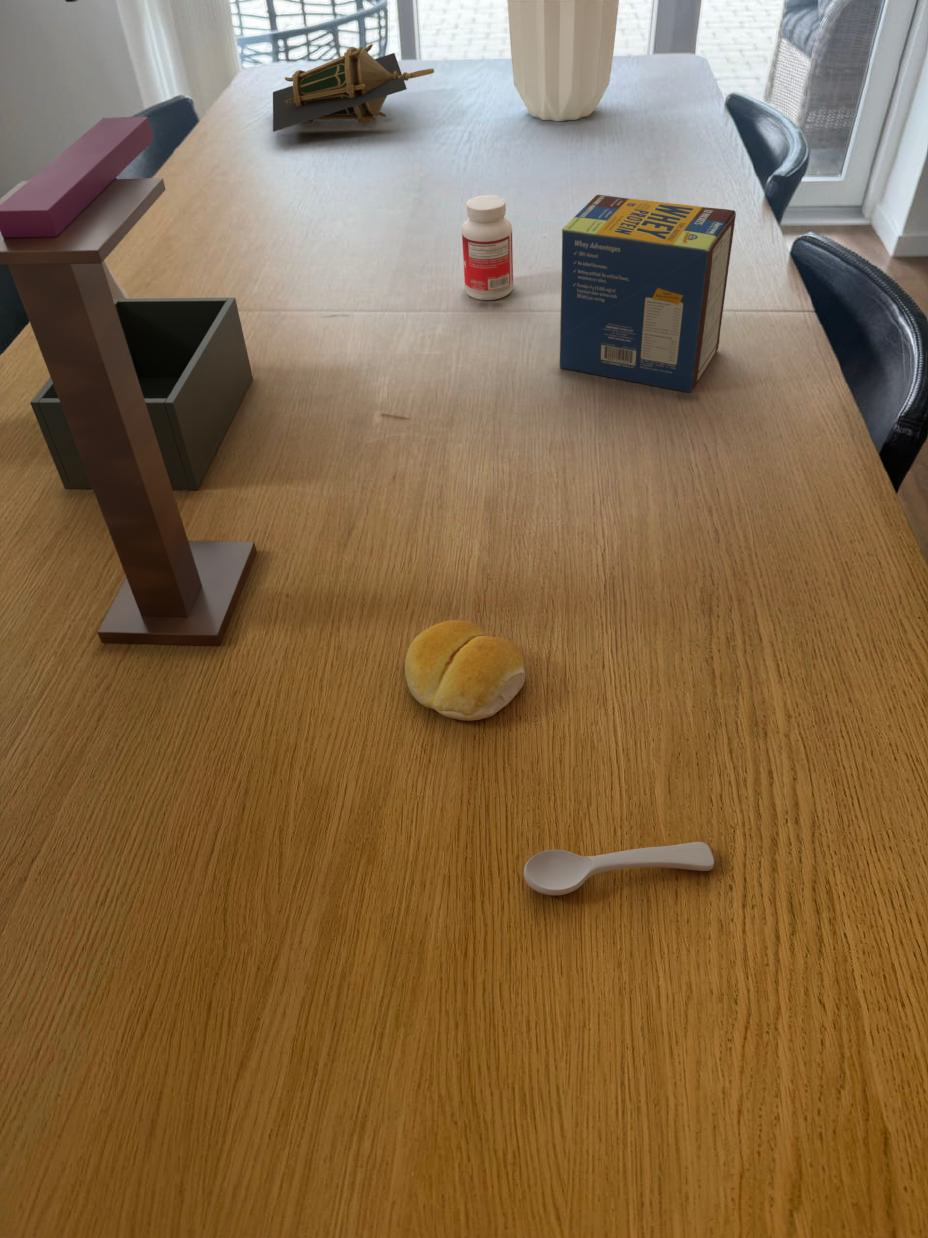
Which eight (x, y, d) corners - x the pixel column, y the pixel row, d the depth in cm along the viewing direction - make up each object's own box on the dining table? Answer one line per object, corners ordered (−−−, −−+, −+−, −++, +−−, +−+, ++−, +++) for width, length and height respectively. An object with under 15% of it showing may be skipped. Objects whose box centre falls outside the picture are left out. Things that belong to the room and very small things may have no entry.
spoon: (518, 863, 61) (520, 845, 60) (700, 846, 62) (706, 828, 61) (526, 905, 59) (529, 887, 58) (715, 886, 60) (721, 868, 59)
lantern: (289, 129, 190) (432, 70, 186) (294, 181, 174) (450, 118, 171) (257, 58, 180) (408, -6, 176) (260, 107, 164) (424, 38, 161)
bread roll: (451, 627, 78) (448, 589, 75) (541, 675, 73) (541, 637, 71) (381, 687, 73) (375, 649, 70) (472, 742, 69) (469, 704, 66)
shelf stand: (101, 642, 78) (-66, 252, 57) (149, 549, 87) (20, 180, 65) (220, 646, 77) (97, 250, 56) (257, 551, 86) (163, 177, 64)
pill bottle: (478, 277, 126) (474, 189, 118) (521, 284, 124) (520, 195, 116) (456, 297, 122) (451, 207, 114) (500, 304, 120) (498, 214, 112)
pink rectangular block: (2, 238, 58) (-8, 211, 57) (109, 141, 71) (102, 117, 70) (56, 237, 57) (47, 210, 56) (154, 139, 70) (148, 116, 69)
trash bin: (64, 488, 95) (29, 402, 88) (137, 378, 111) (112, 298, 104) (198, 490, 94) (172, 402, 87) (253, 378, 109) (235, 297, 103)
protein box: (590, 328, 114) (595, 192, 104) (719, 350, 109) (738, 209, 98) (556, 368, 107) (558, 228, 97) (692, 394, 102) (710, 248, 91)
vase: (501, 101, 183) (498, -76, 164) (602, 92, 184) (610, -84, 165) (516, 132, 169) (514, -57, 150) (626, 123, 170) (638, -67, 151)
